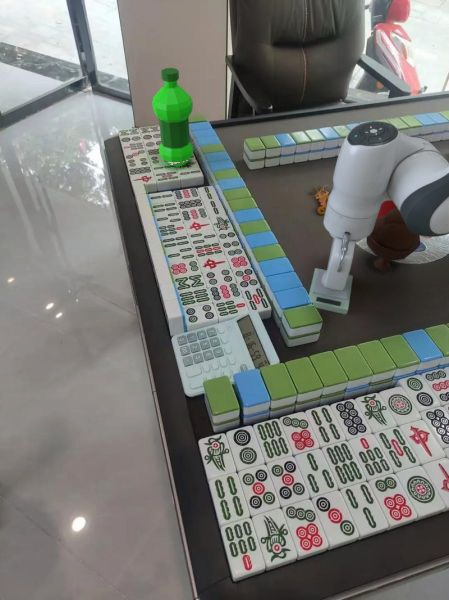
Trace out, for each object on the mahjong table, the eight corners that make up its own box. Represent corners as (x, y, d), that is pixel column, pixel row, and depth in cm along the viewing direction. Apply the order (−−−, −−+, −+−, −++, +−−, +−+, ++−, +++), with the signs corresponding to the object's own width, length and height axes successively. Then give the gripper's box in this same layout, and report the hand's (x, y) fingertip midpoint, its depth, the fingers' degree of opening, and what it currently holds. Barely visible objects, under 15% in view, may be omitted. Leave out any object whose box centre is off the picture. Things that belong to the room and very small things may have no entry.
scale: (350, 283, 93) (353, 273, 90) (345, 318, 86) (348, 307, 84) (313, 276, 94) (315, 265, 92) (305, 309, 88) (308, 298, 85)
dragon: (314, 217, 108) (317, 205, 105) (310, 191, 116) (312, 179, 113) (332, 218, 108) (335, 205, 105) (326, 192, 116) (329, 180, 113)
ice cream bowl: (349, 253, 99) (366, 198, 88) (397, 251, 100) (419, 196, 89) (362, 286, 92) (382, 231, 81) (413, 283, 93) (440, 228, 82)
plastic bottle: (152, 162, 125) (140, 70, 107) (180, 149, 130) (174, 60, 112) (173, 176, 120) (164, 82, 102) (202, 163, 125) (199, 71, 107)
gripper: (363, 258, 69) (345, 314, 79) (372, 189, 82) (355, 244, 92) (324, 250, 70) (310, 307, 80) (338, 183, 83) (325, 239, 93)
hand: (334, 273), depth 86 cm, fingers open, 4 cm apart
